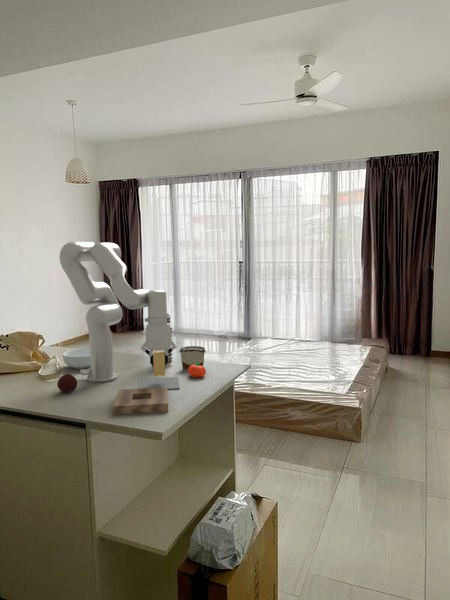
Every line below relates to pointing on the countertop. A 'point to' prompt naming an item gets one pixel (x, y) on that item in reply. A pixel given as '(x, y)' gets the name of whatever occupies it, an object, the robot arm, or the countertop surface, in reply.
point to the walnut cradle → (141, 401)
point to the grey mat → (160, 383)
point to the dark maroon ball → (67, 383)
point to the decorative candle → (169, 348)
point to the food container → (192, 356)
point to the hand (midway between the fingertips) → (159, 364)
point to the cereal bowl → (77, 358)
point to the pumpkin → (196, 370)
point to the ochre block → (159, 363)
